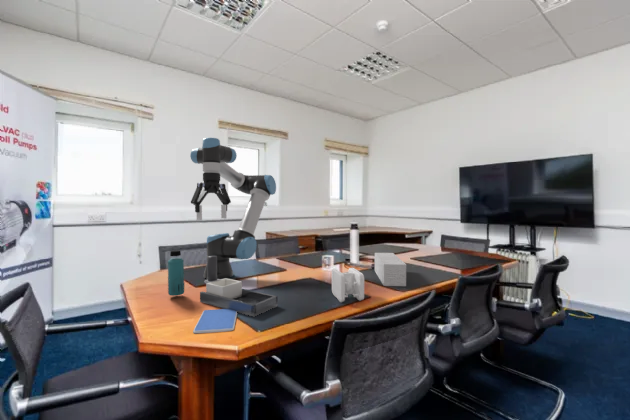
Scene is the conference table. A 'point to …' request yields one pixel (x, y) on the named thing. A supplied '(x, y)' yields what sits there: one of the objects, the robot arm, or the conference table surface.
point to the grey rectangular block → (390, 269)
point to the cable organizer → (347, 284)
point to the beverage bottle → (175, 274)
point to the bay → (242, 302)
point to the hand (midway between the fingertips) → (212, 219)
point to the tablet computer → (216, 321)
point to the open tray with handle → (221, 282)
